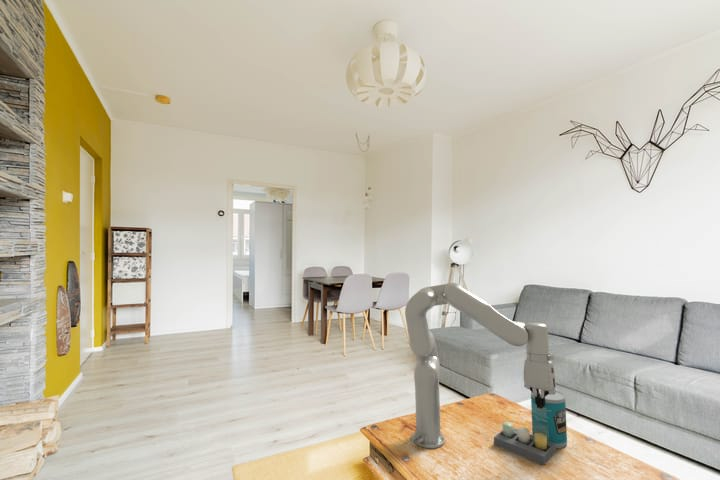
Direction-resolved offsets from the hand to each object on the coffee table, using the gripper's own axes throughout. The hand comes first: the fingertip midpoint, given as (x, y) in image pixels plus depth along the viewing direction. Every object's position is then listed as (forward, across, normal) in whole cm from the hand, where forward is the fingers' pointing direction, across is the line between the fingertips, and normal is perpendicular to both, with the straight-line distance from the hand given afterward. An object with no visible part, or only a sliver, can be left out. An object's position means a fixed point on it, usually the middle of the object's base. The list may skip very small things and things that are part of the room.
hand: (540, 407), depth 126 cm
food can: (+18, +2, -12) cm, 22 cm away
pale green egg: (+14, +13, 0) cm, 19 cm away
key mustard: (+14, +1, 0) cm, 14 cm away
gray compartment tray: (+17, +7, 0) cm, 18 cm away
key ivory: (+14, +7, 0) cm, 16 cm away
